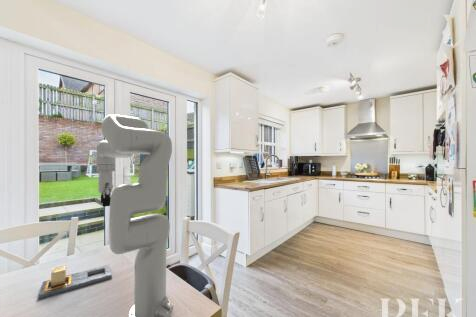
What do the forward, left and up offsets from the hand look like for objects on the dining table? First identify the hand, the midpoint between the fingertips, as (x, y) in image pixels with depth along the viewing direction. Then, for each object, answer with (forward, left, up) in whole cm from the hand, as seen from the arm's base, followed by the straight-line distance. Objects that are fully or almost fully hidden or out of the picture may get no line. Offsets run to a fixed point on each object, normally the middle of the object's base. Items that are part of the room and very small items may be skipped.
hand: (105, 204), depth 98 cm
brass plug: (-3, +19, -28) cm, 34 cm away
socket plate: (-6, +13, -28) cm, 32 cm away
